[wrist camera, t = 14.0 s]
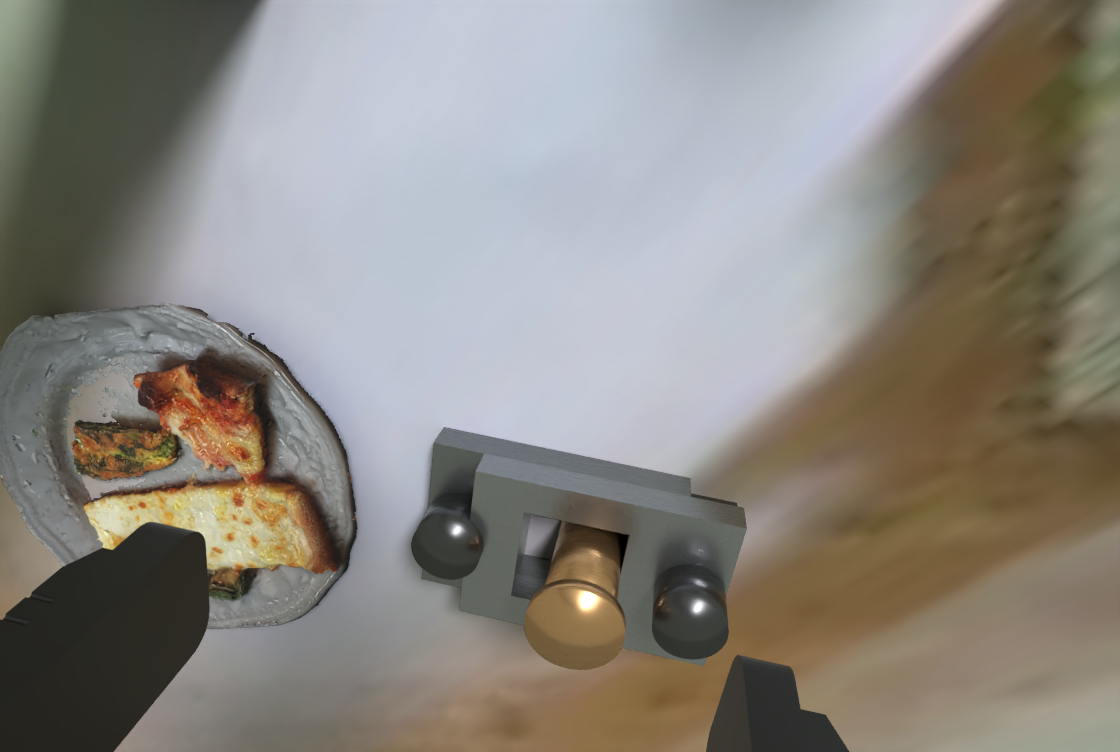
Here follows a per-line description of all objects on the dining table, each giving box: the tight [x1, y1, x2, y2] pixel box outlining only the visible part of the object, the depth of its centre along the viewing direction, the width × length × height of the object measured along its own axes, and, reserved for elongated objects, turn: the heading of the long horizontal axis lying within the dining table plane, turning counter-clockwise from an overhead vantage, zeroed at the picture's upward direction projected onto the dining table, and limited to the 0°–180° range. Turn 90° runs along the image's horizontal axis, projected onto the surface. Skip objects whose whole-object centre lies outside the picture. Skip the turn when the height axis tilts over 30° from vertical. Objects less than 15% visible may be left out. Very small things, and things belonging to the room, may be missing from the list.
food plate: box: [0, 303, 357, 629], centre depth 48 cm, size 25×23×4 cm
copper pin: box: [524, 521, 626, 670], centre depth 42 cm, size 5×5×9 cm
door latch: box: [411, 427, 747, 666], centre depth 43 cm, size 18×10×7 cm, turn 81°
